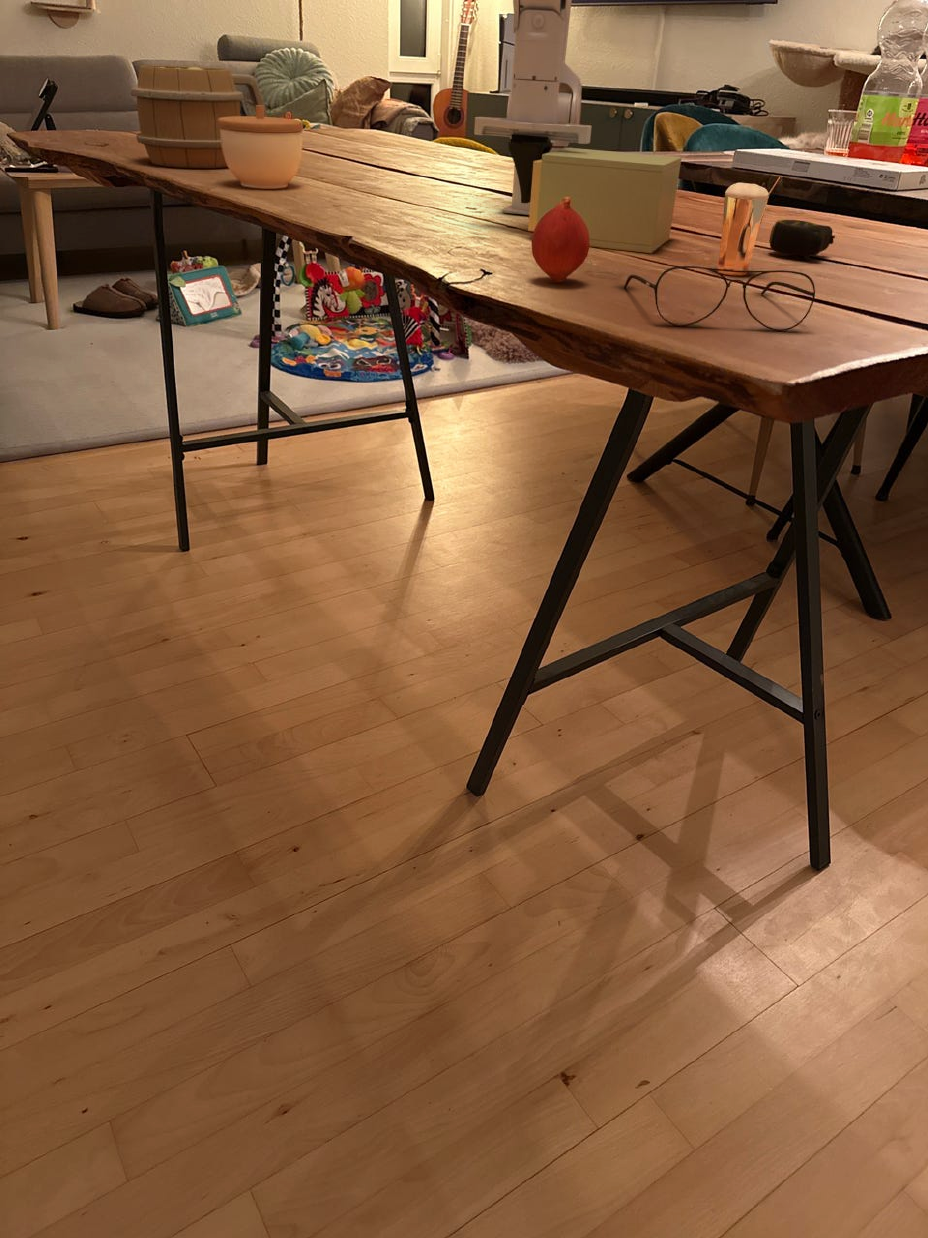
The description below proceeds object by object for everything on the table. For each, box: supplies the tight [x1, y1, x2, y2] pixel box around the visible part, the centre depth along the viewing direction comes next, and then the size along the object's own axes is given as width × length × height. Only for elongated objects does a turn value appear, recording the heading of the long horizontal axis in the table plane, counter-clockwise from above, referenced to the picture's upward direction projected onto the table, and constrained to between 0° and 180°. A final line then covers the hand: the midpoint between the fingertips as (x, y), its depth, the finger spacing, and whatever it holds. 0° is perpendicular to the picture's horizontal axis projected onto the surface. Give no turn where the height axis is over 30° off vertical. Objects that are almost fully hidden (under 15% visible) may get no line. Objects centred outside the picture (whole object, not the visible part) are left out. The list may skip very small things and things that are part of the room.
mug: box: [130, 64, 268, 169], centre depth 164 cm, size 19×25×15 cm
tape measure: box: [768, 219, 836, 259], centre depth 114 cm, size 7×7×4 cm
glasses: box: [623, 265, 816, 332], centre depth 87 cm, size 14×15×5 cm
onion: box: [531, 197, 591, 283], centre depth 93 cm, size 6×6×8 cm
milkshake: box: [717, 176, 781, 277], centre depth 101 cm, size 4×5×10 cm
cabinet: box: [537, 147, 682, 254], centre depth 116 cm, size 15×12×10 cm
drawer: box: [527, 159, 542, 232], centre depth 116 cm, size 15×10×8 cm
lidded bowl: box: [218, 105, 304, 190], centre depth 143 cm, size 13×13×11 cm
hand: (526, 202), depth 119 cm, fingers closed, pressing on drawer
